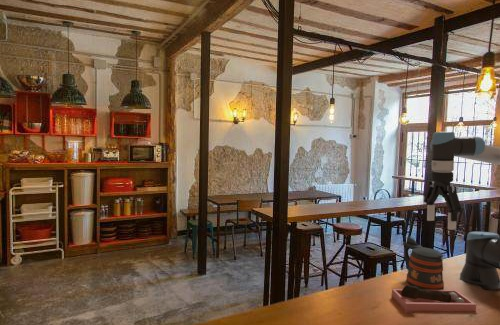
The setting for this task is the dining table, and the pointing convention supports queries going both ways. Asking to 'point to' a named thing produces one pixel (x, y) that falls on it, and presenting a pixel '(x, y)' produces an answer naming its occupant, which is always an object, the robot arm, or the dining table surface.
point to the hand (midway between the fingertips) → (440, 224)
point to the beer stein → (423, 266)
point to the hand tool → (425, 294)
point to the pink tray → (431, 303)
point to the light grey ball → (453, 296)
